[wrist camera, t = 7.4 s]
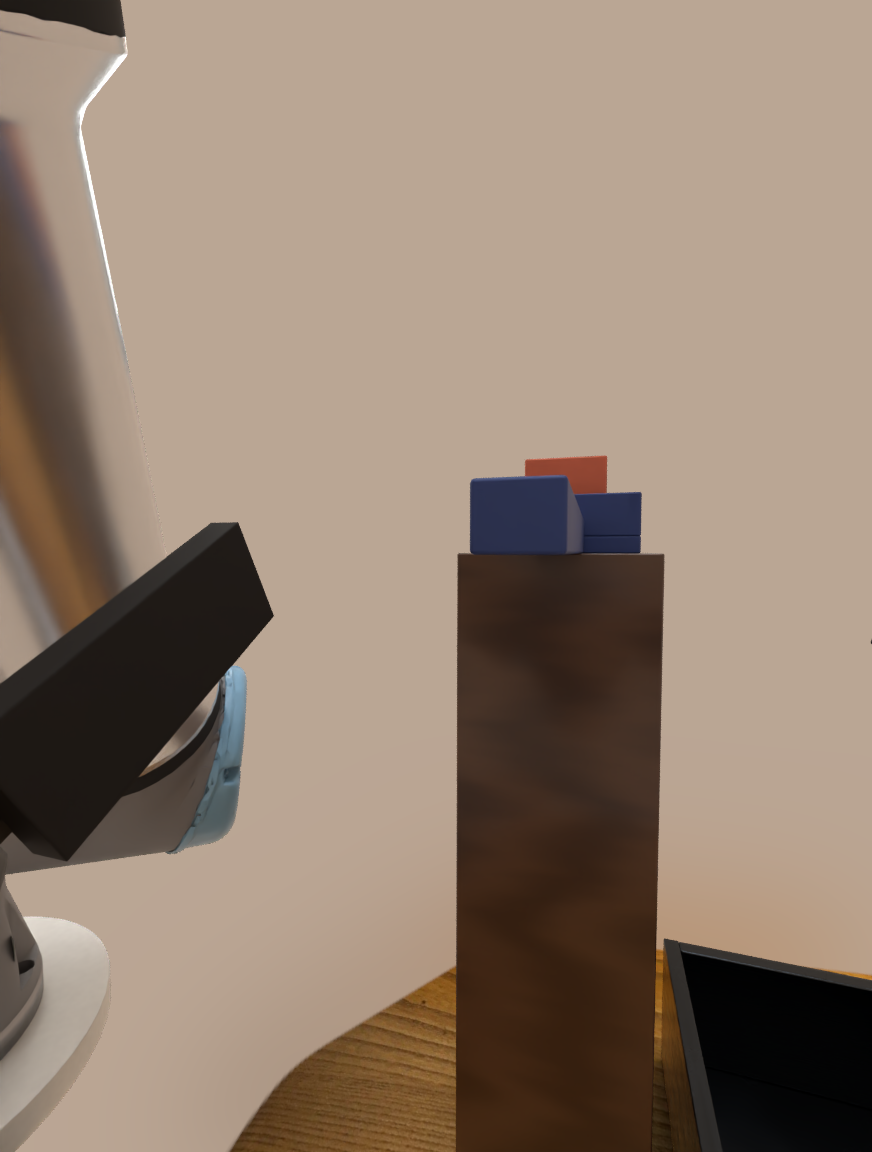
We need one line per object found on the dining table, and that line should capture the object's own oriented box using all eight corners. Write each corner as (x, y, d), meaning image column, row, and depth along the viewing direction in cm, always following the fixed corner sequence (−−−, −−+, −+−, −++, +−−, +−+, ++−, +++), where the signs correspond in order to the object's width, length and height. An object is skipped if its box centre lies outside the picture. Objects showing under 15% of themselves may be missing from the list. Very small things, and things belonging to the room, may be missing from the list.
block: (524, 537, 27) (525, 459, 27) (533, 539, 31) (533, 470, 31) (605, 537, 26) (607, 455, 26) (604, 538, 30) (605, 467, 29)
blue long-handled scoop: (359, 554, 12) (359, 427, 12) (511, 552, 33) (511, 507, 33) (706, 555, 10) (710, 401, 10) (630, 553, 31) (631, 505, 31)
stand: (455, 1228, 23) (457, 553, 22) (501, 1005, 35) (505, 552, 33) (648, 1304, 21) (664, 553, 20) (630, 1037, 32) (639, 553, 31)
